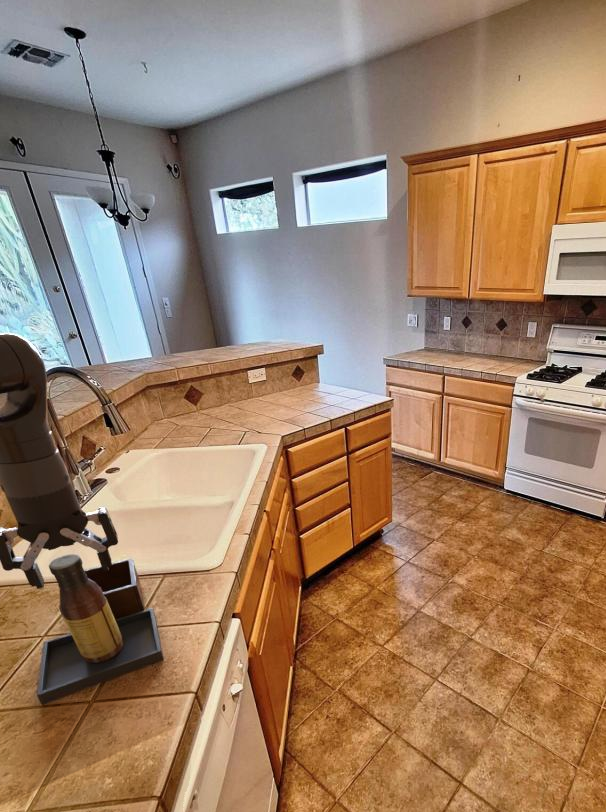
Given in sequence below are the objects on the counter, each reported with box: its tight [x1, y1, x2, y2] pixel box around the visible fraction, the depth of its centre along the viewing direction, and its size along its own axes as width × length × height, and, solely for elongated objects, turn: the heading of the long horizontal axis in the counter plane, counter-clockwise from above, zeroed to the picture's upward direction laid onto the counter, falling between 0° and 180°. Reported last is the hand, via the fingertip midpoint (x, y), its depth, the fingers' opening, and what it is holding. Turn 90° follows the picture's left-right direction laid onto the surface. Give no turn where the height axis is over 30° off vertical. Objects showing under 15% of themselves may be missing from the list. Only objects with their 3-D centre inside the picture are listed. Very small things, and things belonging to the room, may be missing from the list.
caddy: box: [84, 557, 146, 619], centre depth 86 cm, size 10×11×7 cm
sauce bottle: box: [48, 553, 123, 663], centre depth 71 cm, size 7×6×20 cm
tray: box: [36, 607, 165, 705], centre depth 75 cm, size 17×13×2 cm
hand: (74, 576), depth 68 cm, fingers open, 8 cm apart
